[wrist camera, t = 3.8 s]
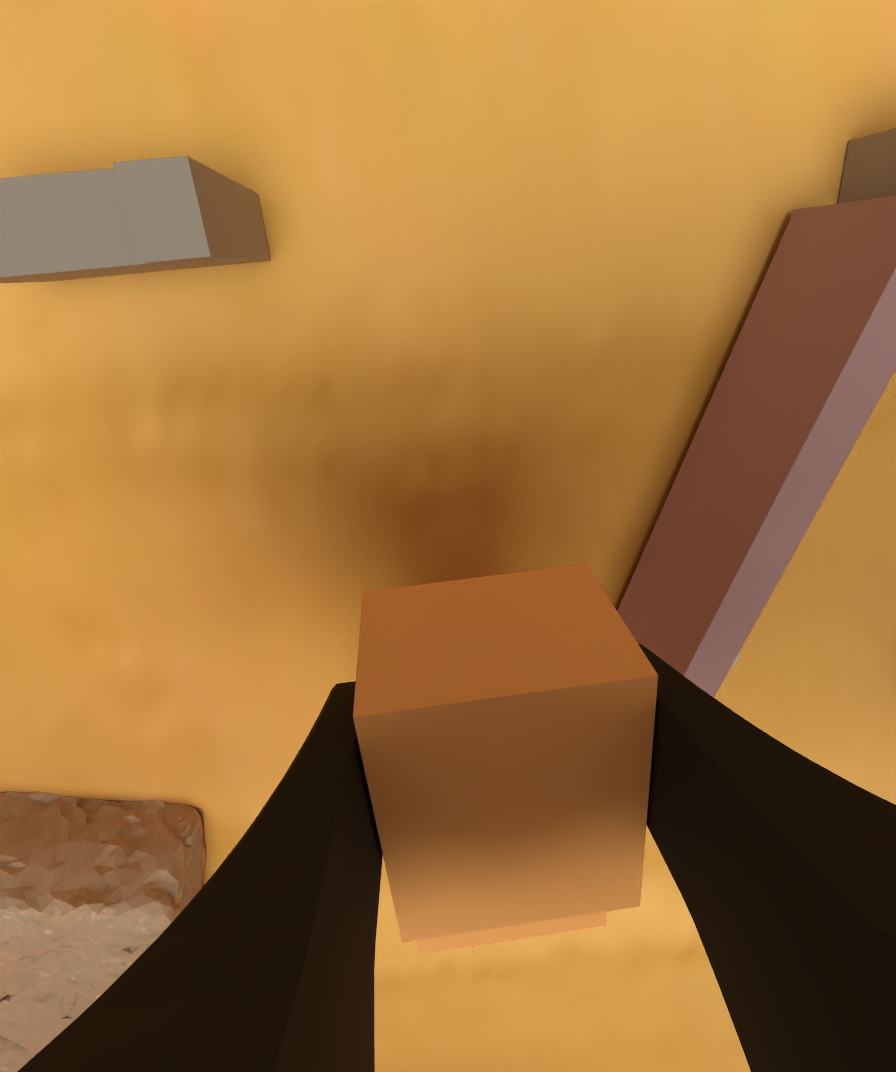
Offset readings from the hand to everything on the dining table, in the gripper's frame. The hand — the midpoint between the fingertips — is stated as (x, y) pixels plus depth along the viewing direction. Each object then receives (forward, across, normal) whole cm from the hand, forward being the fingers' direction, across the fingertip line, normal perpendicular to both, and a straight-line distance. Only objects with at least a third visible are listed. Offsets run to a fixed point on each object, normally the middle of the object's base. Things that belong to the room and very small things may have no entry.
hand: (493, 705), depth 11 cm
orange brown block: (+2, 0, +2) cm, 3 cm away
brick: (+9, +17, +17) cm, 26 cm away
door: (+8, -9, -1) cm, 12 cm away
